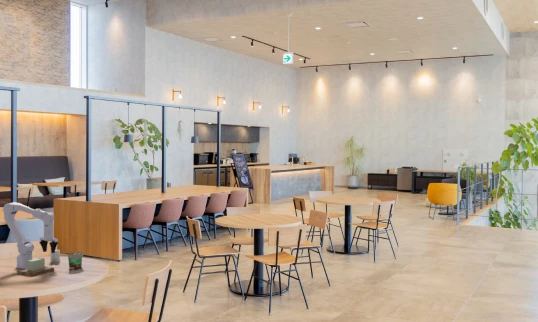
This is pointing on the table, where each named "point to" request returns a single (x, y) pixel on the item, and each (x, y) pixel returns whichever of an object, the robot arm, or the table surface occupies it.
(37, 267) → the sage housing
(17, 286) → the table surface
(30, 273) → the walnut stand
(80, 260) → the food container
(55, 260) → the white rounded canister
